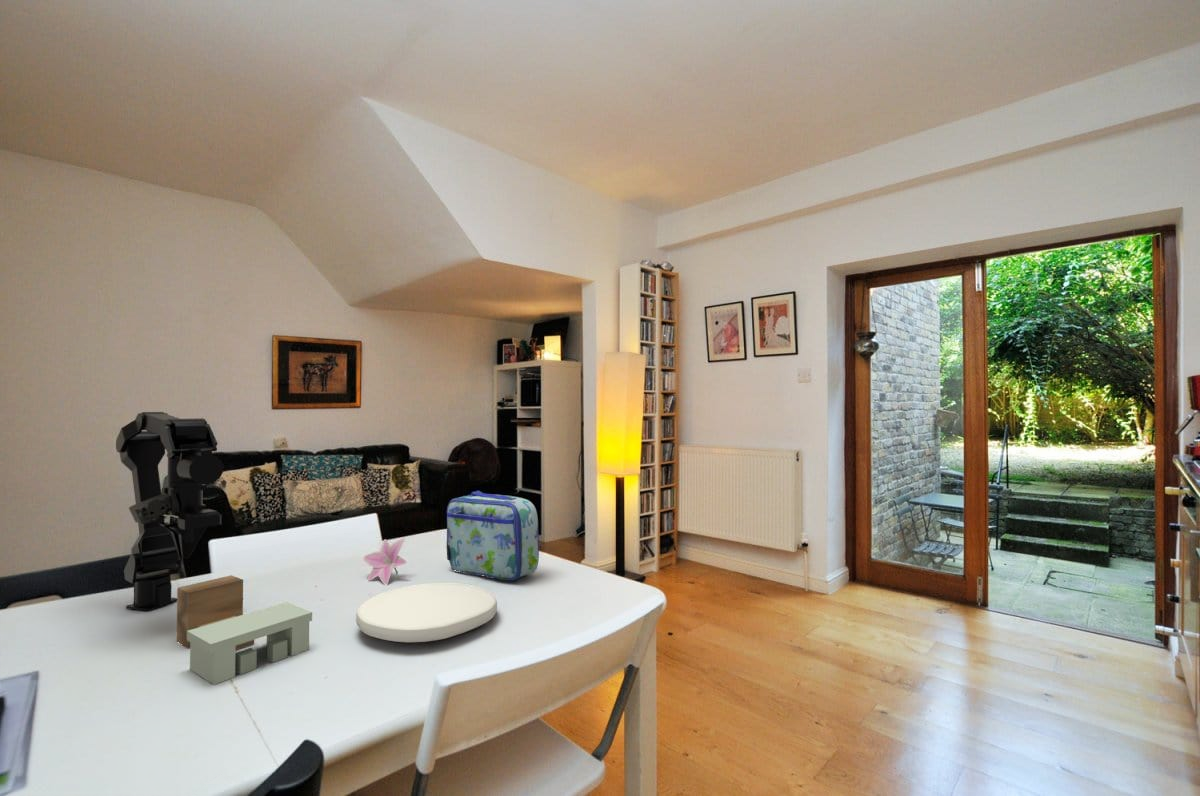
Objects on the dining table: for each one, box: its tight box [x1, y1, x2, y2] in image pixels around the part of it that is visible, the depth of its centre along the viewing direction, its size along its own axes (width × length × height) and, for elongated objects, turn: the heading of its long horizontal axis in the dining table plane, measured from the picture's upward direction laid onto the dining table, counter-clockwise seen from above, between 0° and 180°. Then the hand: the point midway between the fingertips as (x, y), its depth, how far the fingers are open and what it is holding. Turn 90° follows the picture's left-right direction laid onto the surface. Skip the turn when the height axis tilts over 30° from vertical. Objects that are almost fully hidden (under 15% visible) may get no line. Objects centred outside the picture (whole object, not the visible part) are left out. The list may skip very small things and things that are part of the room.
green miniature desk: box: [187, 601, 313, 685], centre depth 95 cm, size 9×16×6 cm, turn 146°
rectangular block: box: [176, 574, 255, 651], centre depth 102 cm, size 13×9×10 cm
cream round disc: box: [355, 582, 498, 643], centre depth 111 cm, size 28×6×27 cm
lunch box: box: [446, 490, 540, 582], centre depth 143 cm, size 26×11×21 cm, turn 58°
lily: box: [362, 537, 408, 585], centre depth 139 cm, size 12×12×10 cm
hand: (184, 557), depth 110 cm, fingers closed
